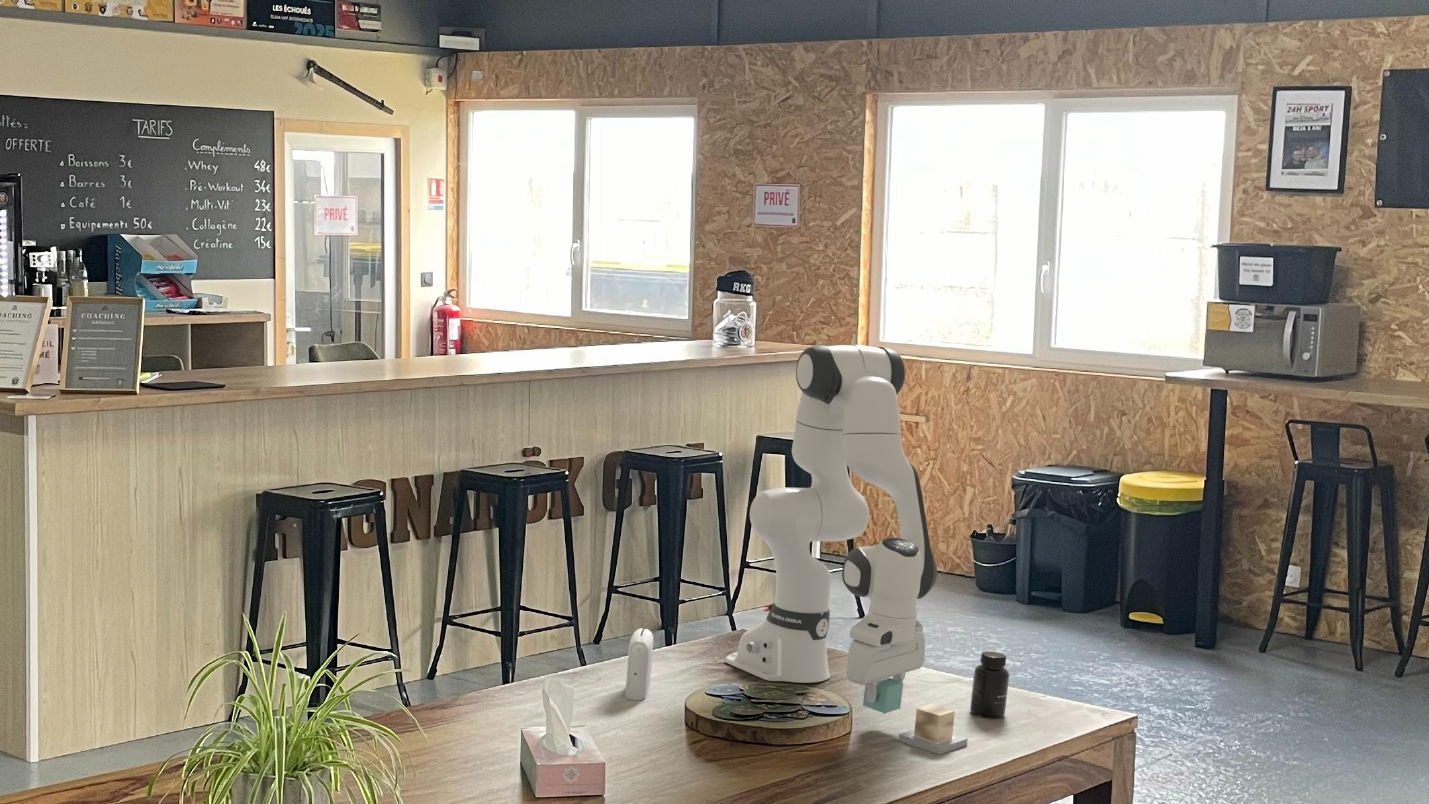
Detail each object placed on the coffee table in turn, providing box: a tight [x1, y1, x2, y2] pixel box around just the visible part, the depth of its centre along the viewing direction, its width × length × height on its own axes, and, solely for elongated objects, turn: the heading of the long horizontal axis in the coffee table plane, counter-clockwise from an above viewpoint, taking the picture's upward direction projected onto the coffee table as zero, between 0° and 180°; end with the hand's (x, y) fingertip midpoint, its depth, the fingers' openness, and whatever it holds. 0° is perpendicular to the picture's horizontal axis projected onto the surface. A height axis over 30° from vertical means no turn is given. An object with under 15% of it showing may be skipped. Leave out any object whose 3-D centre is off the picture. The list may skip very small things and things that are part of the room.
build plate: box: [898, 728, 968, 755], centre depth 290 cm, size 9×9×1 cm
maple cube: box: [914, 703, 956, 742], centre depth 290 cm, size 5×5×5 cm
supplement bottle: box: [969, 650, 1010, 719], centre depth 310 cm, size 7×7×12 cm
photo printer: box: [624, 628, 655, 701], centre depth 305 cm, size 10×4×12 cm, turn 177°
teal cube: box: [862, 677, 904, 714], centre depth 295 cm, size 5×5×5 cm
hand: (882, 698), depth 295 cm, fingers closed on teal cube, 5 cm apart
